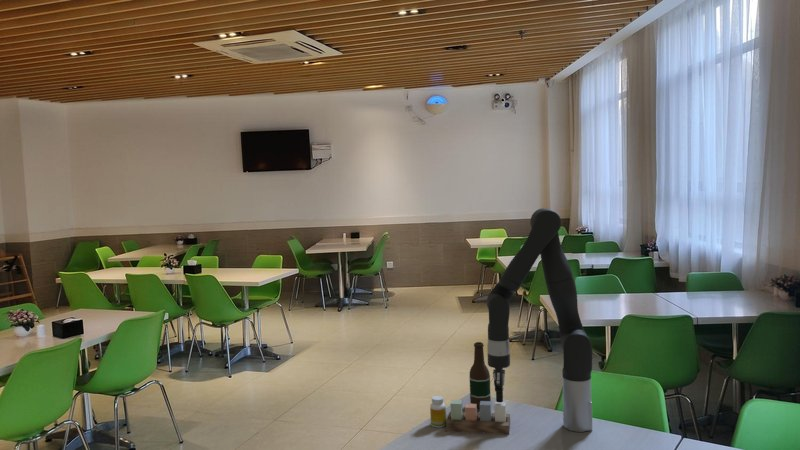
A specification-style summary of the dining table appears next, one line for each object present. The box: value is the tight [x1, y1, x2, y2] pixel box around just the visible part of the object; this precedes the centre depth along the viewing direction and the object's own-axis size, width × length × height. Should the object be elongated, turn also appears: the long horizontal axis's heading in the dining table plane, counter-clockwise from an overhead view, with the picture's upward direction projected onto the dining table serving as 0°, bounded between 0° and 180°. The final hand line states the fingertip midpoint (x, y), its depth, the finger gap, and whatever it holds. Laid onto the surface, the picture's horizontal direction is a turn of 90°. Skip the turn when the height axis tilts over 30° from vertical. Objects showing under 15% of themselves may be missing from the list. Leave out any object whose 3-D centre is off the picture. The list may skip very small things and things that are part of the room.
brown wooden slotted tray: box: [445, 410, 511, 435], centre depth 210 cm, size 21×10×3 cm, turn 78°
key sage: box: [450, 399, 464, 420], centre depth 212 cm, size 4×4×6 cm
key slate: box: [479, 401, 492, 421], centre depth 209 cm, size 4×4×6 cm
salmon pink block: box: [464, 403, 478, 421], centre depth 211 cm, size 4×4×6 cm
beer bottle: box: [469, 341, 492, 410], centre depth 228 cm, size 8×8×24 cm
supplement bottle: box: [429, 395, 447, 428], centre depth 213 cm, size 5×5×10 cm
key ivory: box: [494, 401, 507, 422], centre depth 208 cm, size 4×4×6 cm
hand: (499, 401), depth 208 cm, fingers closed
